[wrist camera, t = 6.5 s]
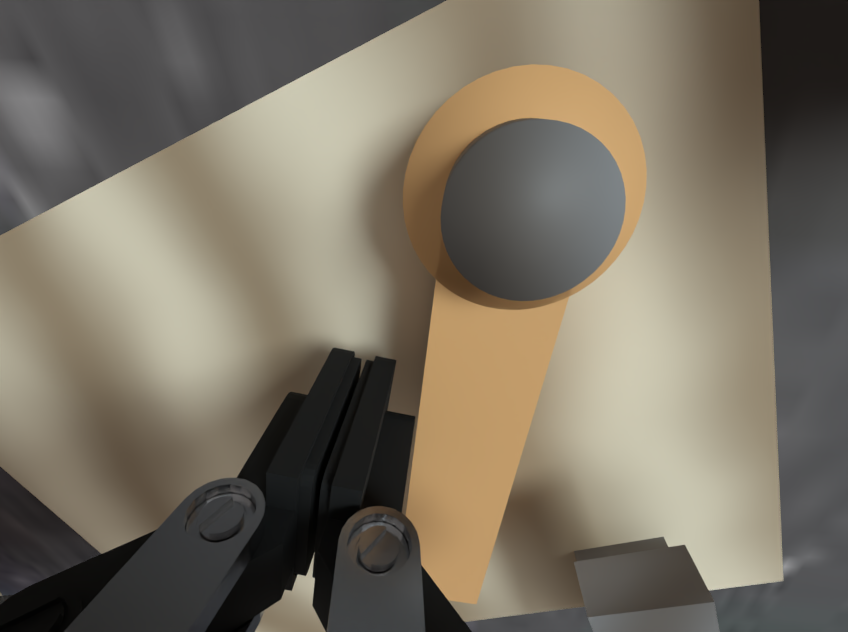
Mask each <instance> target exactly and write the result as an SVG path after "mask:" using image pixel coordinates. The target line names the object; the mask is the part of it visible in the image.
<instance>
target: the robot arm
mask: <svg viewBox="0 0 848 632" xmlns="http://www.w3.org/2000/svg"><path fill="white" fill-rule="evenodd" d="M361 362H362V359H361V358H356V357H355V352H354V351H350V350H345V349H340V348H335V347H334V348H333V349H332V350H331V352H330V354H329V356H328V358H327V359H326V361H325V363H324V365H323V367H322V369H321V371H320V372H319V374H318V376H317V378H316V380H315V382H314V384H313V386H312V387H311V389H310V391H309V393H308V395H306V394H301V393H296V392H289V393H288V394H287V396H286V397H285V399H284V400H283V402H282V404H281V405H280V407H279V408H278V410H277V412H276V413H275V415H274V417H273V418H272V420H271V422H270V423H269V425H268V427H267V428H266V430H265V432H264V433H263V435H262V436H261V438H260V440H259V441H258V443H257V445H256V446H255V448H254V450H253V451H252V453H251V455H250V456H249V458H248V459H247V461H246V463H245V464H244V466H243V468H242V469H241V471H240V473H239V474H238V476H237V478H222V479H218V480H215V481H212V482H208V483H207V484H205V485H203V486H201V487H199V488H197V489H196V490H194V491H193V492H192V493H191V494H190V495H189V496H187V497H186V498H185V499H184V500H183V501H182V502H181V504H180V505H179V506H178V507H177V508H176V509H175V510H174V511H173V512H172V513H171V515H170V516H169V517H168V518H167V519H166V520H165V521H164V522H163V523H162V524H161V526H160V527H159V528H158V529H157V530H155V531H152V532H150V533H148V534H146V535H143V536H141V537H139V538H137V539H134V540H132V541H130V542H128V543H125V544H123V545H121V546H119V547H116V548H114V549H112V550H110V551H107V552H105V553H103V554H101V555H98V556H96V557H94V558H92V559H89V560H87V561H85V562H83V563H80V564H78V565H76V566H74V567H71V568H69V569H67V570H65V571H62V572H60V573H58V574H56V575H53V576H51V577H49V578H47V579H44V580H42V581H40V582H38V583H35V584H33V585H31V586H29V587H27V588H25V589H24V590H22V591H20V592H18V593H16V594H14V595H8V596H2V594H1V593H0V632H255V631H256V629H257V627H258V625H259V623H260V621H261V618H262V616H263V613H264V611H265V610H266V609H267V608H269V607H270V606H272V605H273V604H275V603H276V602H278V601H279V600H281V599H282V596H283V593H284V590H289V591H292V589H293V586H294V583H295V580H296V578H297V575H303V576H306V575H307V573H308V570H309V567H310V564H311V561H312V558H313V555H314V564H313V575H312V577H313V578H315V583H314V593H313V604H312V606H313V608H314V610H315V612H316V614H317V616H318V618H319V620H320V622H321V623H322V625H323V627H324V629H325V631H326V632H472V631H471V630H470V629H469V627H468V626H467V625H466V623H465V622H464V621H463V619H462V618H461V617H460V615H459V614H458V613H457V611H456V610H455V609H454V607H453V606H452V605H451V603H450V602H449V601H448V599H447V598H446V597H445V595H444V594H443V593H442V591H441V590H440V589H439V587H438V586H437V585H436V583H435V582H434V581H433V580H432V578H431V577H430V576H429V574H428V573H427V572H426V570H425V569H424V568H423V566H422V565H421V552H420V542H419V537H418V533H417V531H416V529H415V527H414V525H413V524H412V522H411V521H410V520H409V519H408V518H407V517H406V516H405V515H404V514H403V513H402V508H403V501H404V494H405V487H406V480H407V473H408V466H409V459H410V452H411V445H412V438H413V431H414V424H415V416H412V415H407V414H402V413H396V412H391V411H387V410H388V405H389V399H390V394H391V388H392V383H393V377H394V372H395V366H396V360H394V359H389V358H384V357H379V356H376V357H375V359H374V361H370V360H366V362H365V365H364V368H363V370H362V373H361V376H360V370H361ZM359 377H360V378H359ZM314 552H315V553H314Z"/></svg>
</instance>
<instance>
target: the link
mask: <svg viewBox="0 0 848 632" xmlns="http://www.w3.org/2000/svg"><path fill="white" fill-rule="evenodd" d="M521 118H539V119H549V120H557V121H562V122H566V123H570V124H572V125H575V126H577V127H580V128H582V129H584V130H585V131H587V132H589V133H590V134H592V135H593V136H594V137H596V138H597V139H598V140H599V141H601V142H602V143H603V145H604V146H605V147H606V148H607V149H608V150H609V151H610V153H611V154H612V156H613V158H614V159H615V161H616V162H617V165H618V167H619V169H620V172H621V175H622V178H623V182H624V187H625V196H626V204H625V215H624V221H623V224H622V228H621V231H620V234H619V236H618V239H617V241H616V243H615V245H614V247H613V249H612V250H611V252H610V254H609V255H608V257H607V258H606V259H605V260H604V262H603V263H602V264H601V265H600V266H599V268H598V269H597V270H596V271H595V272H594V273H593V274H591V275H590V276H589V277H588V278H587V279H585V280H584V281H583V282H581V283H580V284H578V285H577V286H575V287H574V288H572V289H570V290H568V291H566V292H564V293H561V294H558V295H556V296H553V297H549V298H545V299H541V300H534V301H514V300H507V299H503V298H498V297H496V296H493V295H490V294H488V293H486V292H484V291H482V290H480V289H478V288H477V287H475V286H474V285H472V284H471V283H470V282H469V281H468V280H467V279H465V278H464V277H463V276H462V274H461V273H460V272H459V271H458V270H457V269H456V267H455V266H454V264H453V262H452V261H451V259H450V257H449V255H448V253H447V251H446V248H445V245H444V242H443V237H442V232H441V206H442V201H443V196H444V191H445V186H446V182H447V179H448V176H449V174H450V171H451V169H452V167H453V165H454V163H455V162H456V160H457V159H458V157H459V156H460V154H461V153H462V152H463V151H464V149H465V148H466V147H467V146H468V145H469V144H470V143H471V142H472V141H473V140H474V139H475V138H477V137H478V136H479V135H481V134H482V133H484V132H485V131H486V130H488V129H490V128H492V127H494V126H496V125H498V124H501V123H504V122H507V121H511V120H515V119H521ZM646 179H647V168H646V160H645V152H644V148H643V145H642V141H641V137H640V135H639V132H638V130H637V128H636V126H635V123H634V121H633V120H632V118H631V116H630V115H629V113H628V112H627V110H626V109H625V107H624V106H623V105H622V104H621V103H620V101H619V100H618V99H617V98H616V97H615V96H614V95H613V94H612V93H611V92H610V91H609V90H607V89H606V88H605V87H604V86H602V85H601V84H600V83H598V82H596V81H595V80H593V79H591V78H589V77H588V76H586V75H584V74H581V73H579V72H576V71H573V70H570V69H568V68H563V67H558V66H552V65H536V64H530V65H521V66H513V67H509V68H506V69H502V70H498V71H495V72H492V73H490V74H488V75H485V76H483V77H480V78H478V79H477V80H475V81H473V82H472V83H470V84H468V85H466V86H465V87H463V88H462V89H460V90H459V91H458V92H457V93H455V94H454V95H453V96H452V97H450V98H449V99H448V100H447V101H446V102H445V103H444V104H443V105H442V106H441V107H440V108H439V109H438V110H437V111H436V112H435V114H434V115H433V116H432V118H431V119H430V120H429V122H428V123H427V124H426V125H425V127H424V129H423V130H422V132H421V134H420V136H419V137H418V139H417V141H416V143H415V146H414V148H413V150H412V153H411V155H410V158H409V162H408V165H407V169H406V172H405V179H404V186H403V211H404V220H405V224H406V228H407V232H408V235H409V238H410V241H411V243H412V246H413V248H414V250H415V252H416V254H417V256H418V257H419V259H420V261H421V262H422V263H423V265H424V266H425V268H426V269H427V270H428V272H429V273H430V274H431V275H432V276H433V277H434V278H435V279H436V283H435V290H434V298H433V306H432V314H431V322H430V329H429V337H428V345H427V353H426V360H425V368H424V376H423V384H422V392H421V399H420V407H419V415H418V423H417V430H416V438H415V446H414V454H413V462H412V469H411V477H410V485H409V493H408V500H407V508H406V517H407V518H408V519H409V520H410V521H411V522H412V524H413V525H414V527H415V529H416V531H417V533H418V537H419V542H420V552H421V565H422V566H423V568H424V569H425V570H426V572H427V573H428V574H429V576H430V577H431V578H432V580H433V581H434V582H435V583H436V585H437V586H438V587H439V589H440V590H441V591H442V593H443V594H444V595H445V597H446V598H447V599H448V600H450V601H456V602H463V603H470V604H477V601H478V598H479V594H480V591H481V588H482V584H483V581H484V578H485V574H486V571H487V568H488V564H489V561H490V558H491V554H492V551H493V548H494V544H495V541H496V538H497V535H498V531H499V528H500V525H501V521H502V518H503V515H504V511H505V508H506V505H507V501H508V498H509V495H510V491H511V488H512V485H513V481H514V478H515V475H516V472H517V468H518V465H519V462H520V458H521V455H522V452H523V448H524V445H525V442H526V438H527V435H528V432H529V428H530V425H531V422H532V418H533V415H534V412H535V409H536V405H537V402H538V399H539V395H540V392H541V389H542V385H543V382H544V379H545V375H546V372H547V369H548V365H549V362H550V359H551V355H552V352H553V349H554V346H555V342H556V339H557V336H558V332H559V329H560V326H561V322H562V319H563V316H564V312H565V309H566V306H567V302H568V299H569V296H571V295H573V294H575V293H577V292H579V291H581V290H582V289H584V288H585V287H586V286H588V285H589V284H591V283H592V282H594V281H595V280H596V279H597V278H598V277H599V276H601V275H602V274H603V273H604V272H605V271H606V270H607V269H608V268H609V267H610V266H611V265H612V263H613V262H614V261H615V260H616V259H617V257H618V256H619V255H620V253H621V252H622V251H623V249H624V248H625V246H626V245H627V243H628V241H629V239H630V238H631V236H632V234H633V232H634V230H635V227H636V225H637V223H638V220H639V218H640V214H641V211H642V207H643V204H644V198H645V192H646Z"/></svg>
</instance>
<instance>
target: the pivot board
mask: <svg viewBox="0 0 848 632" xmlns="http://www.w3.org/2000/svg"><path fill="white" fill-rule="evenodd" d="M530 64H536V65H552V66H558V67H563V68H568V69H570V70H573V71H576V72H579V73H581V74H584V75H586V76H588V77H589V78H591V79H593V80H595V81H596V82H598V83H600V84H601V85H602V86H604V87H605V88H606V89H607V90H609V91H610V92H611V93H612V94H613V95H614V96H615V97H616V98H617V99H618V100H619V101H620V103H621V104H622V105H623V106H624V107H625V109H626V110H627V112H628V113H629V115H630V116H631V118H632V120H633V121H634V123H635V126H636V128H637V130H638V132H639V135H640V137H641V141H642V145H643V148H644V152H645V160H646V168H647V179H646V192H645V198H644V204H643V207H642V211H641V214H640V218H639V220H638V223H637V225H636V227H635V230H634V232H633V234H632V236H631V238H630V239H629V241H628V243H627V245H626V246H625V248H624V249H623V251H622V252H621V253H620V255H619V256H618V257H617V259H616V260H615V261H614V262H613V263H612V265H611V266H610V267H609V268H608V269H607V270H606V271H605V272H604V273H603V274H602V275H601V276H599V277H598V278H597V279H596V280H595V281H594V282H592V283H591V284H589V285H588V286H586V287H585V288H584V289H582V290H581V291H579V292H577V293H575V294H573V295H571V296H569V299H568V302H567V306H566V309H565V312H564V316H563V319H562V322H561V326H560V329H559V332H558V336H557V339H556V342H555V346H554V349H553V352H552V355H551V359H550V362H549V365H548V369H547V372H546V375H545V379H544V382H543V385H542V389H541V392H540V395H539V399H538V402H537V405H536V409H535V412H534V415H533V418H532V422H531V425H530V428H529V432H528V435H527V438H526V442H525V445H524V448H523V452H522V455H521V458H520V462H519V465H518V468H517V472H516V475H515V478H514V481H513V485H512V488H511V491H510V495H509V498H508V501H507V505H506V508H505V511H504V515H503V518H502V521H501V525H500V528H499V531H498V535H497V538H496V541H495V544H494V548H493V551H492V554H491V558H490V561H489V564H488V568H487V571H486V574H485V578H484V581H483V584H482V588H481V591H480V594H479V598H478V601H477V604H470V603H463V602H456V601H450V600H448V601H449V602H450V603H451V605H452V606H453V607H454V609H455V610H456V611H457V613H458V614H459V615H460V617H461V618H462V619H463V621H464V622H467V621H475V620H483V619H490V618H498V617H506V616H514V615H521V614H529V613H537V612H545V611H553V610H560V609H568V608H576V607H584V606H585V609H586V613H587V617H588V619H589V622H590V624H591V627H592V629H593V632H719V626H718V620H717V614H716V608H715V602H714V600H713V598H712V596H711V594H710V592H709V590H716V589H724V588H732V587H739V586H747V585H755V584H763V583H770V582H778V581H783V563H782V539H781V515H780V491H779V467H778V443H777V419H776V395H775V371H774V348H773V324H772V300H771V276H770V252H769V228H768V204H767V180H766V156H765V133H764V109H763V85H762V61H761V37H760V13H759V0H447V1H445V2H443V3H441V4H439V5H437V6H435V7H434V8H432V9H430V10H428V11H426V12H424V13H422V14H420V15H418V16H416V17H415V18H413V19H411V20H409V21H407V22H405V23H403V24H401V25H399V26H397V27H396V28H394V29H392V30H390V31H388V32H386V33H384V34H382V35H380V36H378V37H377V38H375V39H373V40H371V41H369V42H367V43H365V44H363V45H361V46H359V47H358V48H356V49H354V50H352V51H350V52H348V53H346V54H344V55H342V56H340V57H339V58H337V59H335V60H333V61H331V62H329V63H327V64H325V65H323V66H321V67H320V68H318V69H316V70H314V71H312V72H310V73H308V74H306V75H304V76H302V77H301V78H299V79H297V80H295V81H293V82H291V83H289V84H287V85H285V86H283V87H282V88H280V89H278V90H276V91H274V92H272V93H270V94H268V95H266V96H264V97H263V98H261V99H259V100H257V101H255V102H253V103H251V104H249V105H247V106H245V107H244V108H242V109H240V110H238V111H236V112H234V113H232V114H230V115H228V116H226V117H225V118H223V119H221V120H219V121H217V122H215V123H213V124H211V125H209V126H207V127H206V128H204V129H202V130H200V131H198V132H196V133H194V134H192V135H190V136H188V137H187V138H185V139H183V140H181V141H179V142H177V143H175V144H173V145H171V146H169V147H168V148H166V149H164V150H162V151H160V152H158V153H156V154H154V155H152V156H150V157H149V158H147V159H145V160H143V161H141V162H139V163H137V164H135V165H133V166H131V167H130V168H128V169H126V170H124V171H122V172H120V173H118V174H116V175H114V176H112V177H111V178H109V179H107V180H105V181H103V182H101V183H99V184H97V185H95V186H93V187H92V188H90V189H88V190H86V191H84V192H82V193H80V194H78V195H76V196H75V197H73V198H71V199H69V200H67V201H65V202H63V203H61V204H59V205H57V206H56V207H54V208H52V209H50V210H48V211H46V212H44V213H42V214H40V215H38V216H37V217H35V218H33V219H31V220H29V221H27V222H25V223H23V224H21V225H19V226H18V227H16V228H14V229H12V230H10V231H8V232H6V233H4V234H2V235H0V467H2V468H3V469H4V470H5V471H6V472H7V473H8V474H10V475H11V476H12V477H13V478H14V479H15V480H17V481H18V482H19V483H20V484H21V485H22V486H24V487H25V488H26V489H27V490H28V491H29V492H31V493H32V494H33V495H34V496H35V497H36V498H37V499H39V500H40V501H41V502H42V503H43V504H44V505H46V506H47V507H48V508H49V509H50V510H51V511H53V512H54V513H55V514H56V515H57V516H58V517H59V518H61V519H62V520H63V521H64V522H65V523H66V524H68V525H69V526H70V527H71V528H72V529H73V530H75V531H76V532H77V533H78V534H79V535H80V536H81V537H83V538H84V539H85V540H86V541H87V542H88V543H90V544H91V545H92V546H93V547H94V548H95V549H97V550H98V551H99V552H100V553H101V554H103V553H105V552H107V551H110V550H112V549H114V548H116V547H119V546H121V545H123V544H125V543H128V542H130V541H132V540H134V539H137V538H139V537H141V536H143V535H146V534H148V533H150V532H152V531H155V530H157V529H158V528H159V527H160V526H161V524H162V523H163V522H164V521H165V520H166V519H167V518H168V517H169V516H170V515H171V513H172V512H173V511H174V510H175V509H176V508H177V507H178V506H179V505H180V504H181V502H182V501H183V500H184V499H185V498H186V497H187V496H189V495H190V494H191V493H192V492H193V491H194V490H196V489H197V488H199V487H201V486H203V485H205V484H207V483H208V482H212V481H215V480H218V479H222V478H237V476H238V474H239V473H240V471H241V469H242V468H243V466H244V464H245V463H246V461H247V459H248V458H249V456H250V455H251V453H252V451H253V450H254V448H255V446H256V445H257V443H258V441H259V440H260V438H261V436H262V435H263V433H264V432H265V430H266V428H267V427H268V425H269V423H270V422H271V420H272V418H273V417H274V415H275V413H276V412H277V410H278V408H279V407H280V405H281V404H282V402H283V400H284V399H285V397H286V396H287V394H288V393H289V392H296V393H301V394H306V395H308V393H309V391H310V389H311V387H312V386H313V384H314V382H315V380H316V378H317V376H318V374H319V372H320V371H321V369H322V367H323V365H324V363H325V361H326V359H327V358H328V356H329V354H330V352H331V350H332V349H333V348H334V347H335V348H340V349H345V350H350V351H354V352H355V357H356V358H361V359H362V362H361V370H360V376H361V373H362V370H363V368H364V365H365V362H366V360H370V361H374V359H375V357H376V356H379V357H384V358H389V359H394V360H396V366H395V372H394V377H393V383H392V388H391V394H390V399H389V405H388V410H387V411H391V412H396V413H402V414H407V415H412V416H415V424H414V431H413V438H412V445H411V452H410V459H409V466H408V473H407V480H406V487H405V494H404V501H403V508H402V513H403V514H404V515H405V516H406V508H407V500H408V493H409V485H410V477H411V469H412V462H413V454H414V446H415V438H416V430H417V423H418V415H419V407H420V399H421V392H422V384H423V376H424V368H425V360H426V353H427V345H428V337H429V329H430V322H431V314H432V306H433V298H434V290H435V283H436V279H435V278H434V277H433V276H432V275H431V274H430V273H429V272H428V270H427V269H426V268H425V266H424V265H423V263H422V262H421V261H420V259H419V257H418V256H417V254H416V252H415V250H414V248H413V246H412V243H411V241H410V238H409V235H408V232H407V228H406V224H405V220H404V211H403V186H404V179H405V172H406V169H407V165H408V162H409V158H410V155H411V153H412V150H413V148H414V146H415V143H416V141H417V139H418V137H419V136H420V134H421V132H422V130H423V129H424V127H425V125H426V124H427V123H428V122H429V120H430V119H431V118H432V116H433V115H434V114H435V112H436V111H437V110H438V109H439V108H440V107H441V106H442V105H443V104H444V103H445V102H446V101H447V100H448V99H449V98H450V97H452V96H453V95H454V94H455V93H457V92H458V91H459V90H460V89H462V88H463V87H465V86H466V85H468V84H470V83H472V82H473V81H475V80H477V79H478V78H480V77H483V76H485V75H488V74H490V73H492V72H495V71H498V70H502V69H506V68H509V67H513V66H521V65H530ZM625 204H626V196H625V187H624V182H623V178H622V175H621V172H620V169H619V167H618V165H617V162H616V161H615V159H614V158H613V156H612V154H611V153H610V151H609V150H608V149H607V148H606V147H605V146H604V145H603V143H602V142H601V141H599V140H598V139H597V138H596V137H594V136H593V135H592V134H590V133H589V132H587V131H585V130H584V129H582V128H580V127H577V126H575V125H572V124H570V123H566V122H562V121H557V120H549V119H539V118H521V119H515V120H511V121H507V122H504V123H501V124H498V125H496V126H494V127H492V128H490V129H488V130H486V131H485V132H484V133H482V134H481V135H479V136H478V137H477V138H475V139H474V140H473V141H472V142H471V143H470V144H469V145H468V146H467V147H466V148H465V149H464V151H463V152H462V153H461V154H460V156H459V157H458V159H457V160H456V162H455V163H454V165H453V167H452V169H451V171H450V174H449V176H448V179H447V182H446V186H445V191H444V196H443V201H442V206H441V232H442V237H443V242H444V245H445V248H446V251H447V253H448V255H449V257H450V259H451V261H452V262H453V264H454V266H455V267H456V269H457V270H458V271H459V272H460V273H461V274H462V276H463V277H464V278H465V279H467V280H468V281H469V282H470V283H471V284H472V285H474V286H475V287H477V288H478V289H480V290H482V291H484V292H486V293H488V294H490V295H493V296H496V297H498V298H503V299H507V300H514V301H534V300H541V299H545V298H549V297H553V296H556V295H558V294H561V293H564V292H566V291H568V290H570V289H572V288H574V287H575V286H577V285H578V284H580V283H581V282H583V281H584V280H585V279H587V278H588V277H589V276H590V275H591V274H593V273H594V272H595V271H596V270H597V269H598V268H599V266H600V265H601V264H602V263H603V262H604V260H605V259H606V258H607V257H608V255H609V254H610V252H611V250H612V249H613V247H614V245H615V243H616V241H617V239H618V236H619V234H620V231H621V228H622V224H623V221H624V215H625ZM359 378H360V377H359ZM314 553H315V552H314ZM313 564H314V555H313V558H312V561H311V564H310V567H309V570H308V573H307V575H306V576H303V575H297V578H296V580H295V583H294V586H293V589H292V591H289V590H284V593H283V596H282V599H281V600H279V601H278V602H276V603H275V604H273V605H272V606H270V607H269V608H267V609H266V610H265V611H264V613H263V616H262V618H261V621H260V623H259V625H258V627H257V629H256V631H255V632H326V631H325V629H324V627H323V625H322V623H321V622H320V620H319V618H318V616H317V614H316V612H315V610H314V608H313V606H312V604H313V593H314V583H315V578H313V577H312V575H313Z"/></svg>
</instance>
